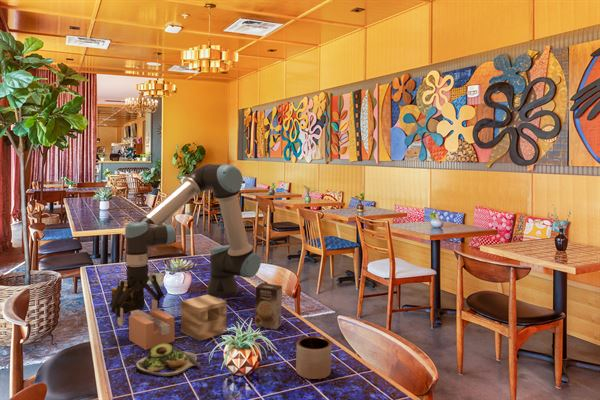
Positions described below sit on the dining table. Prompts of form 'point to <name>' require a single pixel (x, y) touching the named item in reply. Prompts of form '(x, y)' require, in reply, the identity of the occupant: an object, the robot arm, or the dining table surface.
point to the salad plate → (166, 360)
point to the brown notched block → (203, 317)
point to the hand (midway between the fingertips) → (138, 320)
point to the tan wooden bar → (159, 325)
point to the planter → (313, 357)
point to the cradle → (150, 329)
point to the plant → (158, 276)
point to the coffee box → (268, 306)
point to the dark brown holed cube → (131, 300)
